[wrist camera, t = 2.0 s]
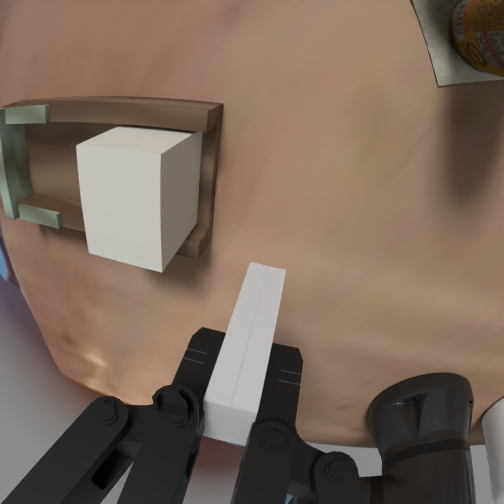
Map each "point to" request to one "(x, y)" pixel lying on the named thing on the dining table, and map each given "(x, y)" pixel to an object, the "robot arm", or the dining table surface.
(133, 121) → the walnut chute
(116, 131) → the cream block
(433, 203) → the dining table surface
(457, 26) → the condiment
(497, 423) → the can
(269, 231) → the dining table surface
